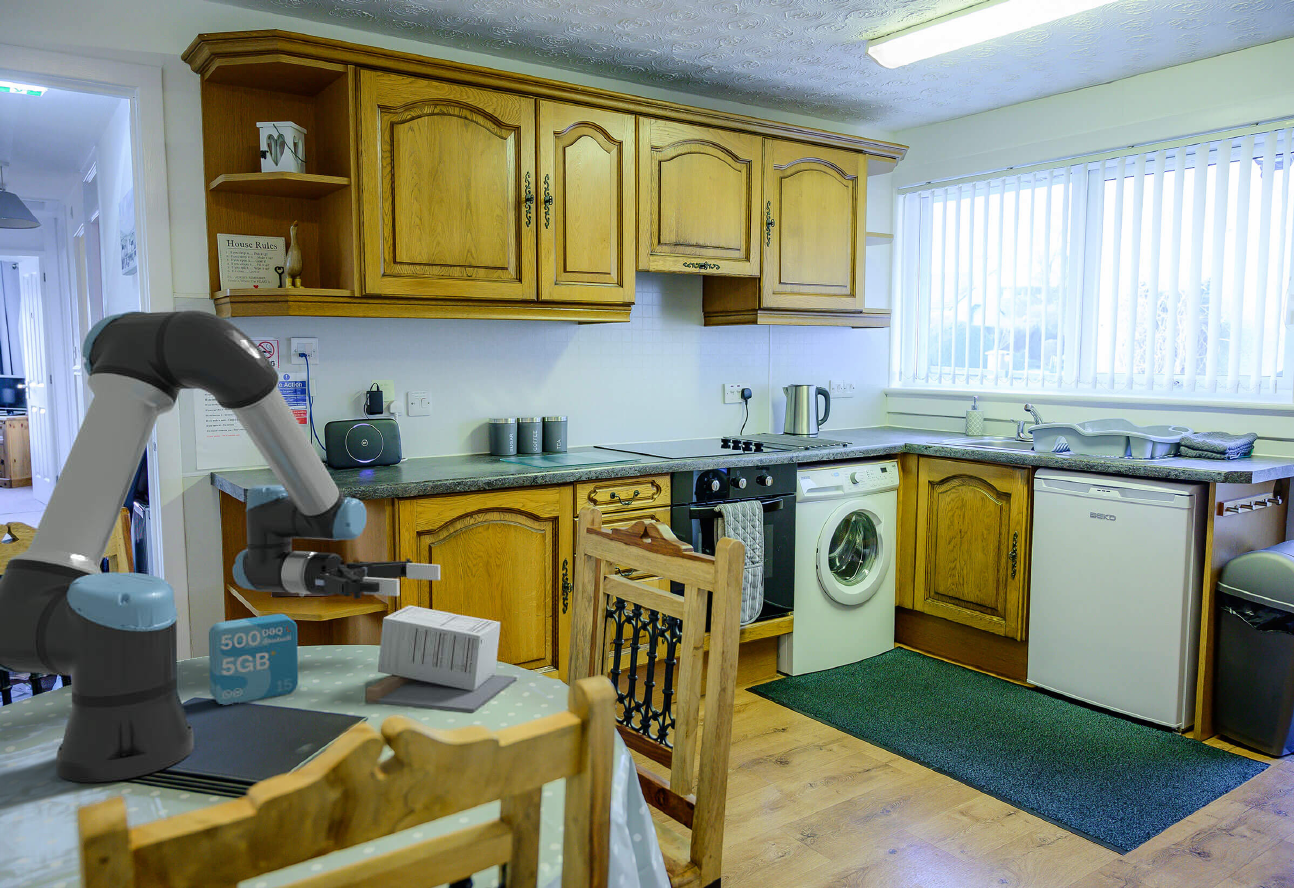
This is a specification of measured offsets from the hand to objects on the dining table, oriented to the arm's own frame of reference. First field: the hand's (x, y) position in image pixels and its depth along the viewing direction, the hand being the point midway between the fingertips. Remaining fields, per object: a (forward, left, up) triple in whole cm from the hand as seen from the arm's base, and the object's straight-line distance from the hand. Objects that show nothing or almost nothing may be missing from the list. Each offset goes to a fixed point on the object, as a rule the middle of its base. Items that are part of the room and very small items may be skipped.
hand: (419, 579), depth 152 cm
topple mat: (+10, -11, -15) cm, 21 cm away
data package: (-17, -21, -15) cm, 31 cm away
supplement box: (-1, -8, -8) cm, 11 cm away
